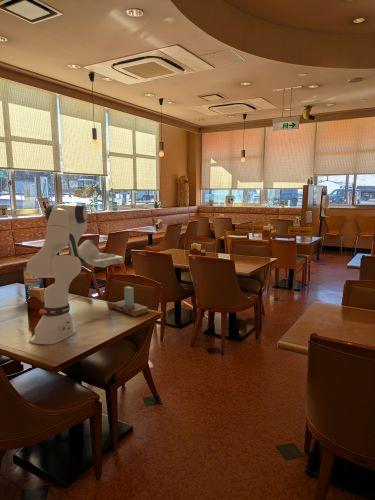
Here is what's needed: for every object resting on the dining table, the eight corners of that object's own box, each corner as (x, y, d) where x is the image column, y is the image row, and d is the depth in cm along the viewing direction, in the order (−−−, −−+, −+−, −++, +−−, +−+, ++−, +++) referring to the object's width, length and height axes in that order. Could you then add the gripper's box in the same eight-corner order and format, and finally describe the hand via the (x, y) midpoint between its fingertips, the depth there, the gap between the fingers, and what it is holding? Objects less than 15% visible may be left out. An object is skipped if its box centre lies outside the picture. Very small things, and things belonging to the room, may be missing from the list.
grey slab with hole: (148, 312, 211) (148, 307, 211) (134, 316, 204) (134, 311, 203) (124, 304, 226) (124, 299, 225) (111, 308, 219) (111, 303, 218)
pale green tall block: (134, 310, 214) (133, 287, 212) (130, 311, 212) (129, 288, 210) (128, 308, 218) (128, 286, 215) (124, 309, 215) (124, 287, 213)
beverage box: (44, 301, 233) (42, 268, 230) (25, 303, 229) (23, 269, 226) (44, 298, 239) (41, 266, 236) (26, 300, 235) (23, 267, 232)
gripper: (87, 257, 220) (100, 259, 211) (115, 253, 235) (128, 255, 226) (88, 267, 221) (101, 270, 212) (115, 263, 236) (129, 265, 227)
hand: (115, 262), depth 219 cm, fingers open, 8 cm apart
